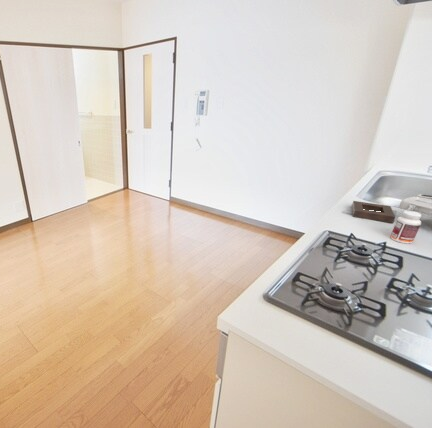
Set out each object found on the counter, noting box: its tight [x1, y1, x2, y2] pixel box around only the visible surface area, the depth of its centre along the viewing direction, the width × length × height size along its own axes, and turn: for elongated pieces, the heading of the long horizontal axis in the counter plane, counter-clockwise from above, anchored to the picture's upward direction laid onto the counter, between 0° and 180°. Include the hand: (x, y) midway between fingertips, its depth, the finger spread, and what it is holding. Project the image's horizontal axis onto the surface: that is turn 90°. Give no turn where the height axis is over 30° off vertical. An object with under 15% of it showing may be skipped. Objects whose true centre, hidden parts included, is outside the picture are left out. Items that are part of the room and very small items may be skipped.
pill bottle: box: [390, 210, 423, 244], centre depth 102 cm, size 6×6×11 cm
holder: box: [351, 200, 396, 224], centre depth 124 cm, size 13×13×3 cm
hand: (425, 215), depth 105 cm, fingers open, 8 cm apart
